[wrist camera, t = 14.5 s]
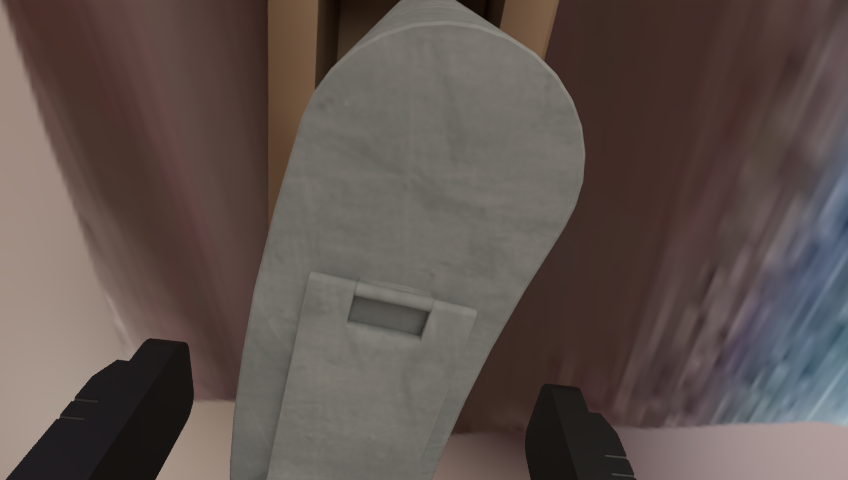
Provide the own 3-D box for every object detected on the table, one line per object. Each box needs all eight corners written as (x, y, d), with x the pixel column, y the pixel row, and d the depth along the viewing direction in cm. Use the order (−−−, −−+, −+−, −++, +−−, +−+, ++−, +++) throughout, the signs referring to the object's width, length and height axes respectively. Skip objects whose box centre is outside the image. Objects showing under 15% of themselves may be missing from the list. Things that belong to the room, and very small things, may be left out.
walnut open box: (578, -103, 19) (636, -133, 14) (466, 354, 31) (475, 433, 25) (274, -159, 18) (215, -213, 13) (273, 333, 30) (241, 409, 24)
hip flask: (405, 304, 28) (375, 882, 10) (334, 293, 27) (171, 873, 10) (471, -3, 20) (815, 126, 3) (375, -25, 20) (-16, -47, 2)
